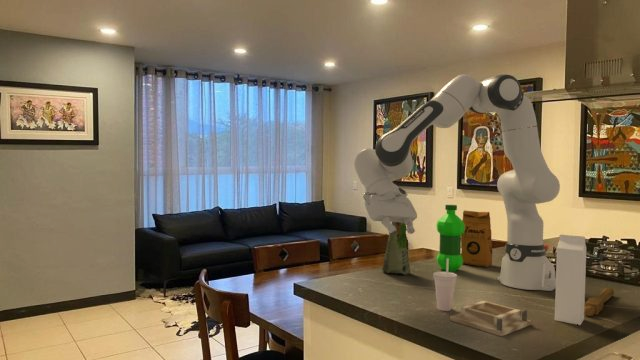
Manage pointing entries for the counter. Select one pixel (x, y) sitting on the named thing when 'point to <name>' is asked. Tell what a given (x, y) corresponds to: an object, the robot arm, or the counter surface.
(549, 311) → the counter surface
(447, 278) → the smoothie
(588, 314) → the tap handle
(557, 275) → the milk
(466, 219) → the coffee package
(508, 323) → the holder
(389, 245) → the pouch
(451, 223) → the plastic bottle
